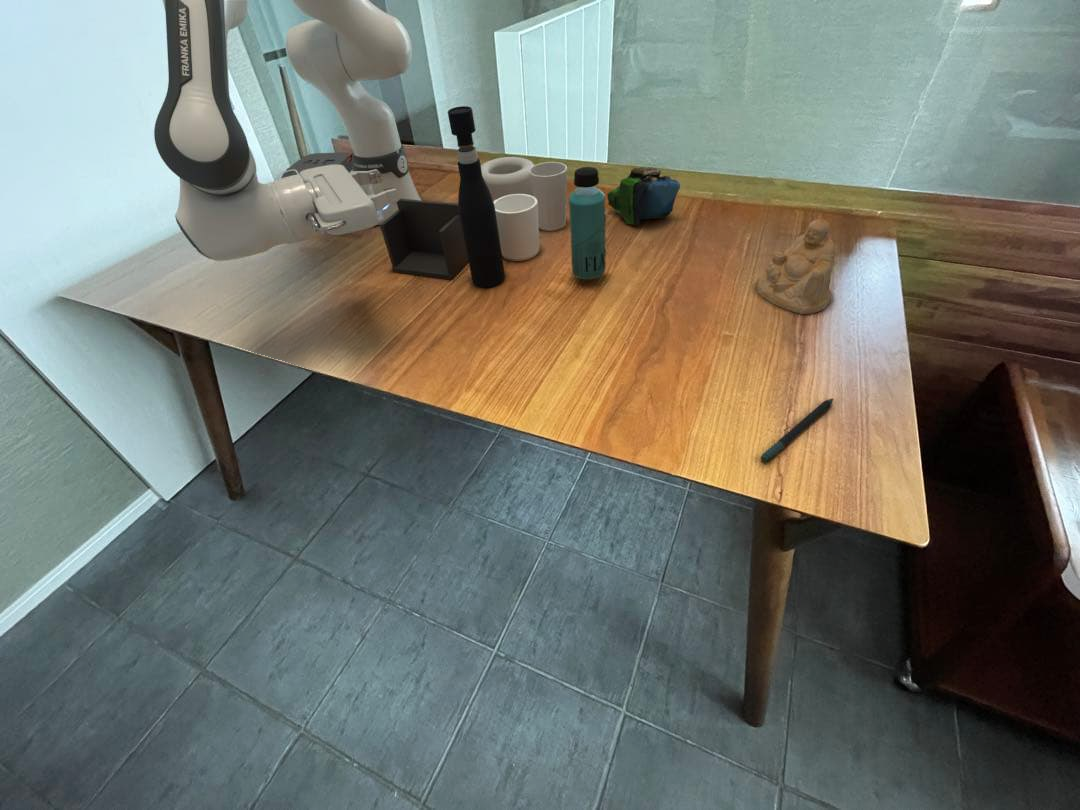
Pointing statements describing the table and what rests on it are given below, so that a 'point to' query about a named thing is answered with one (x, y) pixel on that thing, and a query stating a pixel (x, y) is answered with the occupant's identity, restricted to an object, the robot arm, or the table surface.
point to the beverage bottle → (587, 225)
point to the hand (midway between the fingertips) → (388, 184)
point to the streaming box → (321, 161)
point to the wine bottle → (476, 205)
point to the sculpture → (644, 195)
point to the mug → (518, 226)
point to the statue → (801, 272)
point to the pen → (796, 430)
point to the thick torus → (507, 176)
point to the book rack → (425, 239)
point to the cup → (550, 194)
